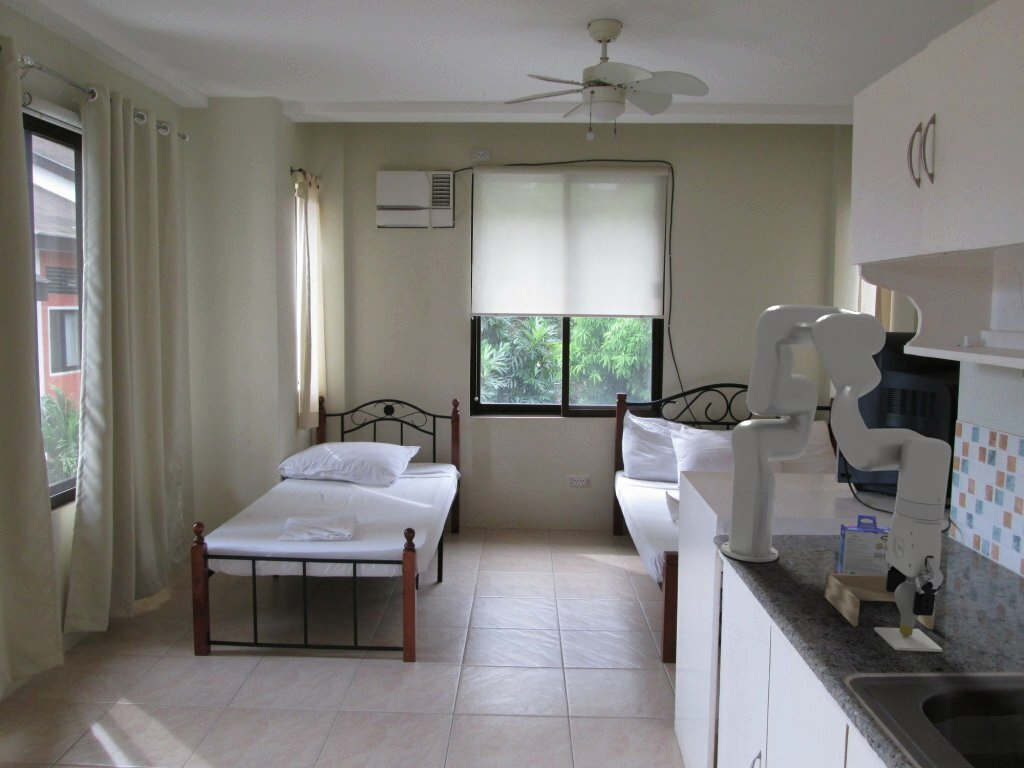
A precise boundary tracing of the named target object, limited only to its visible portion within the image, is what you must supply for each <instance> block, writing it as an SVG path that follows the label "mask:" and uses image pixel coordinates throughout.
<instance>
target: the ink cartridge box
mask: <svg viewBox="0 0 1024 768" xmlns="http://www.w3.org/2000/svg"><path fill="white" fill-rule="evenodd" d="M865 519H867V520H870V521H872V522H863V521H861V520H865ZM889 529H890V527H887V526H878V525H877V519H876V516H872V515H863V514H857V524H844V523H842V524H840V535H839V536H840V537H839V551H838V564H837V574H857V575H884V576H887V574H888V570H890V569H888V568H887V563H888V561H887V560H886V557H885V555H886V547H887V540H888V535H889Z"/></svg>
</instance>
